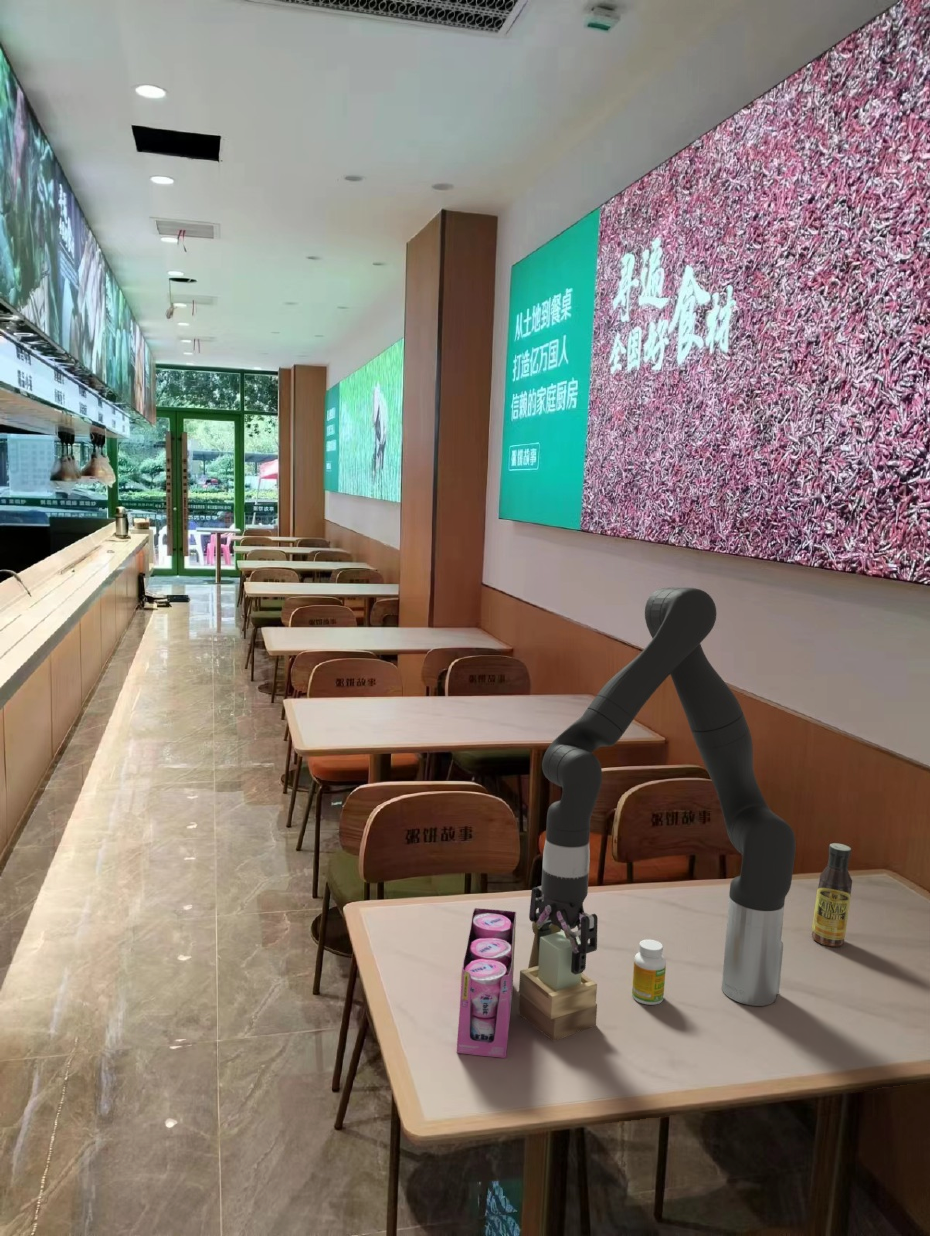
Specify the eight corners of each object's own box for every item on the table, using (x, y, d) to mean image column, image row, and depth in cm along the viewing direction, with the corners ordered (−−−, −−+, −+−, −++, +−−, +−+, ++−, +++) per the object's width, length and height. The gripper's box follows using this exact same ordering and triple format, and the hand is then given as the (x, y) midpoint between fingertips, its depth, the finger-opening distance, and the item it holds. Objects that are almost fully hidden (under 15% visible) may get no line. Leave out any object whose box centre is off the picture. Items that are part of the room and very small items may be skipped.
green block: (561, 970, 153) (563, 930, 152) (580, 983, 149) (583, 943, 148) (537, 977, 150) (540, 937, 150) (556, 991, 146) (559, 950, 145)
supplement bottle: (656, 1009, 155) (660, 955, 154) (627, 999, 158) (630, 946, 156) (667, 995, 159) (671, 943, 158) (638, 986, 162) (642, 934, 161)
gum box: (506, 1065, 138) (511, 980, 136) (454, 1059, 138) (458, 975, 137) (513, 984, 161) (517, 910, 160) (468, 979, 162) (472, 907, 160)
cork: (558, 986, 161) (562, 926, 160) (524, 981, 162) (528, 922, 161) (562, 969, 167) (565, 912, 166) (529, 964, 168) (532, 908, 167)
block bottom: (560, 1001, 157) (561, 979, 156) (595, 1027, 149) (597, 1004, 149) (518, 1016, 151) (519, 993, 151) (553, 1043, 144) (554, 1019, 144)
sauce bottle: (810, 944, 181) (819, 848, 179) (811, 931, 187) (820, 838, 185) (846, 951, 179) (855, 854, 177) (845, 938, 185) (855, 843, 182)
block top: (562, 980, 156) (563, 959, 155) (595, 1005, 148) (597, 983, 148) (518, 992, 151) (520, 970, 151) (551, 1019, 144) (552, 996, 143)
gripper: (613, 877, 144) (606, 974, 146) (555, 848, 156) (550, 938, 158) (577, 887, 140) (571, 986, 142) (520, 855, 151) (515, 948, 153)
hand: (560, 961), depth 150 cm, fingers open, 8 cm apart
